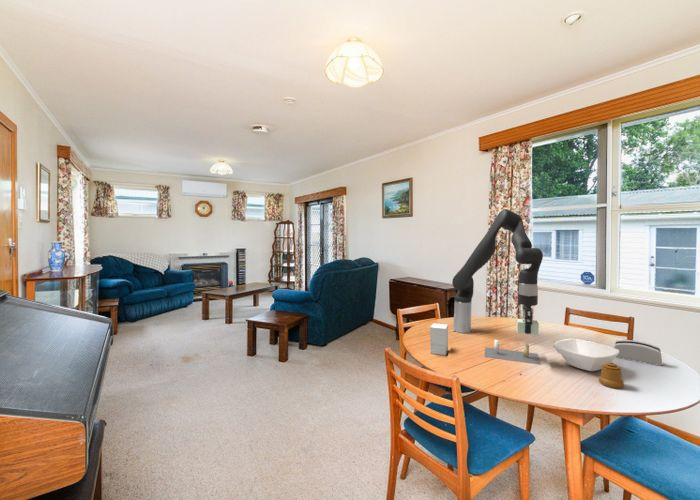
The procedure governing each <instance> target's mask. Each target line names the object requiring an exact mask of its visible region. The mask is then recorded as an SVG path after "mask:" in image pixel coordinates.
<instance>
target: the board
mask: <svg viewBox="0 0 700 500" xmlns="http://www.w3.org/2000/svg"><path fill="white" fill-rule="evenodd" d="M493 346H494V347H487V346H485V347H484V355H483V356H484V357H483V358H488V359H495V360H503V361H510V362H517V363H518V362H519V363H523V364H524V363H525V364H526V363H527V364H533V365H540V366H541V365H542V363H541V361H540V357H539V354H538V353H535V352H530V345H529V344H528V343H524V344H523V351H519V350H510V349H504V348H500V340H499V339H494V344H493Z"/></svg>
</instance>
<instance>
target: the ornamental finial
mask: <svg viewBox="0 0 700 500" xmlns="http://www.w3.org/2000/svg"><path fill="white" fill-rule="evenodd" d="M622 375H623V374H622V368H620V366H619V365H617V364H616V363H614V362H607V363H606V364H604V365H602V369H601V374H600V376H598V382H599V383H600V384H601V385H603V386H604V387H606V388H610V389H616V390H618V389H622V388H623V387H624V386H625V382H624V380H623V379H622Z"/></svg>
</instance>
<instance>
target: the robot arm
mask: <svg viewBox="0 0 700 500" xmlns="http://www.w3.org/2000/svg"><path fill="white" fill-rule="evenodd" d="M501 228H503V229H504V230H507V231H509V232H511V233H512V235H511V238H510V239H511V240H510V241H511V244H512V245H513V247H514V249H515V250H514V251H515V261H516V262H517V263H518V264H520V265H530V266H529V267H528V268H526V269H525V268H524V269H520V270H519V274H518V275H519V279H518V280H519V283H518V298H517V299H518V301H517V302H518V304H519V305H521V306H522V308H521V309H522V310H521V311H522V319H524V320H525V333H526V334H525V335H528V334H531V325H532V320H533V317H534V316H533V314H534V309H533V308H532V306H534V307H535V306H537V305H538V299H539V287H538V278H539V277H538V276H539V270H540V268H541V264H542V262H543V258H544V254H543V251H542V250H541V248H538V247H533V244H532V242H531V239H530V238H529V236H528V235H527V232H526V229H525V225H524V222H523V217H521V216H520V214H518V213H516V212H514V211H512V210H509V209H506V208H504V209H502V210H501V211H499V213H498V214H497V215H496V217H495V219H494V221H492V224H491V225H490V227H489V229H488V230H487V232H486V233H485V234H484V236H483V238H482V239H481V241H480V242H479V243H478V244H477V245H476V247H475V248H474V250H473V251H472V252H471V254H470V256H469V257H468V258H467V260H466V261H465V263H464V265H463V266H462V267H461V269H460V270H458V272H457V273H456V274H455V275H454V276H453V278H452V280H451V281H452V282H451V284H452V287H453V288H454V289H455V290H457V293H456V294H455V296H454V309H453V311H454V314H453V332H456V333H460V334H469V333H470V334H471V333H472V299H473V296H474V287H475V286H474V283H475V281H474V278H473V276H474V275H475V274H476V273H477V272H478V271H479V270H480V269H482V268H483V267H484V266H485V265H486V264H487V263H488V262H489V261H490V259H491V258H492V257H493V255H494V254H495V253H496V247H497V235H498V234H499V231H500V229H501ZM527 320H530V322H527Z"/></svg>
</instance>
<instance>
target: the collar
mask: <svg viewBox="0 0 700 500" xmlns="http://www.w3.org/2000/svg"><path fill="white" fill-rule="evenodd" d="M527 322H530V320H527ZM539 325H540V323H539V322H538V320H533V319H532V325H531V334H526V333H525V320H524V318H522V319H521V318H516V334H520V335H529V336H539V330H540V329H539Z"/></svg>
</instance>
